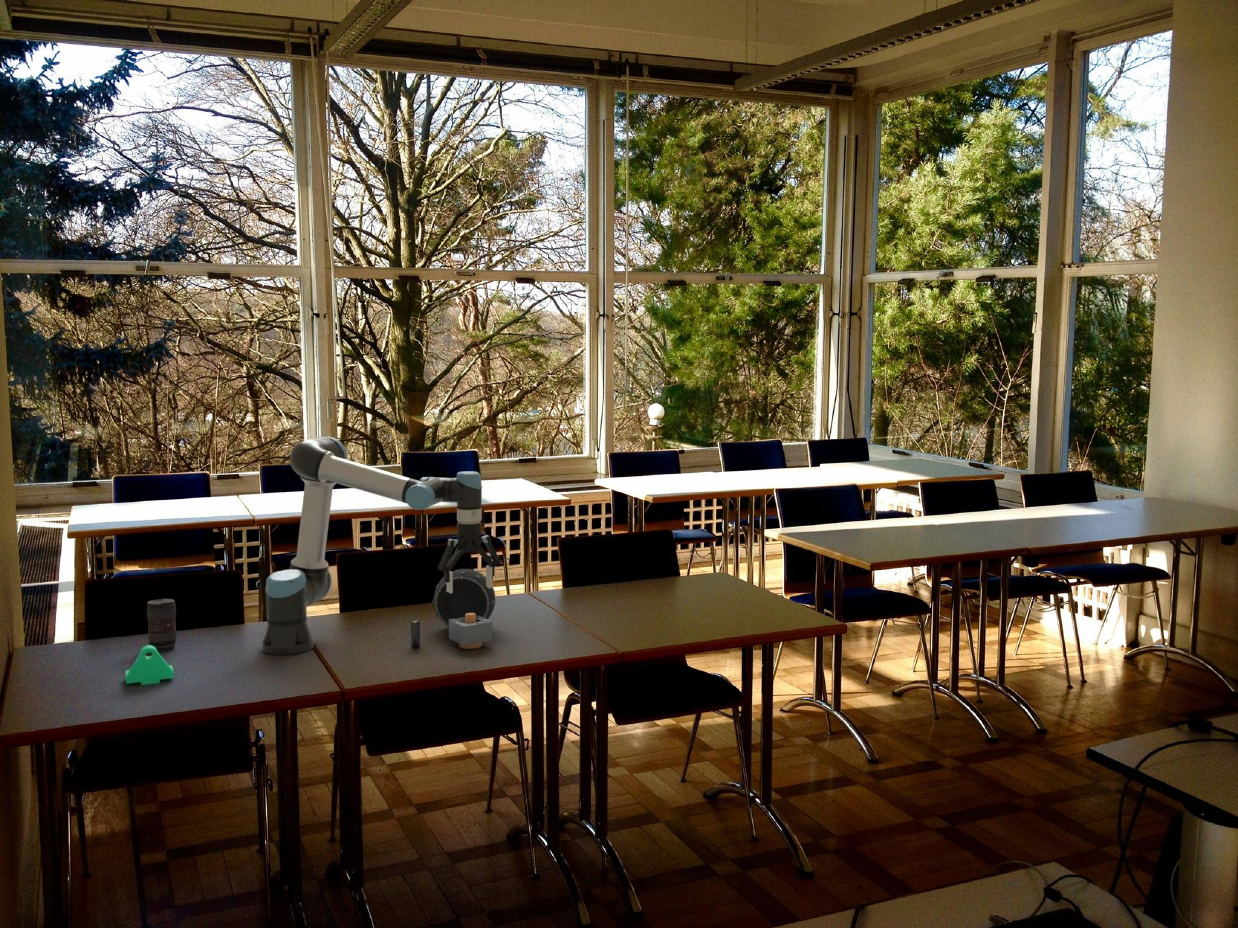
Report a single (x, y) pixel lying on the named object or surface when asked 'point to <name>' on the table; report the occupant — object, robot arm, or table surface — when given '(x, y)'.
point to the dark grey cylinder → (162, 624)
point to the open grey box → (470, 631)
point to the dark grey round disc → (464, 596)
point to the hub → (468, 619)
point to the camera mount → (149, 668)
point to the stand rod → (415, 634)
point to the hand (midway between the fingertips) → (469, 589)
